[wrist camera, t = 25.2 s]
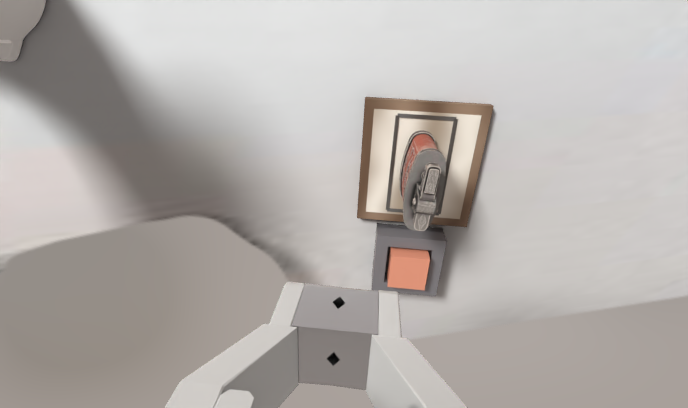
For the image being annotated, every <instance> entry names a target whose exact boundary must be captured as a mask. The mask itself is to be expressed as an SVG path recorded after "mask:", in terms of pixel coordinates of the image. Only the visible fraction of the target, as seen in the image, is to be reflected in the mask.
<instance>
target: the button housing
mask: <svg viewBox="0 0 688 408" xmlns="http://www.w3.org/2000/svg"><path fill="white" fill-rule="evenodd" d="M446 242H447V241H446V238H445V235H444V232H443V229H442V228H430V227H428V228H427V229H426V230H425V231H414V230H411V229H409V228H407V227H406V225H394V224H382V223H377V230H376V240H375V251H374V261H373V271H372V290H375V291H379V290H382V291H396V292H397V293H407V294H417V295H428V296H436V293H437V288H438V283H439V278H440V273H441V268H442V263H443V257H444V252H445V247H446ZM390 247H398V248H410V249H421V250H428V253H429V257H430V263H429V268H428V274H427V279H426V285H425V290H416V289H405V288H394V287H388V285H387V268H388V260H389V251H390Z"/></svg>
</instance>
